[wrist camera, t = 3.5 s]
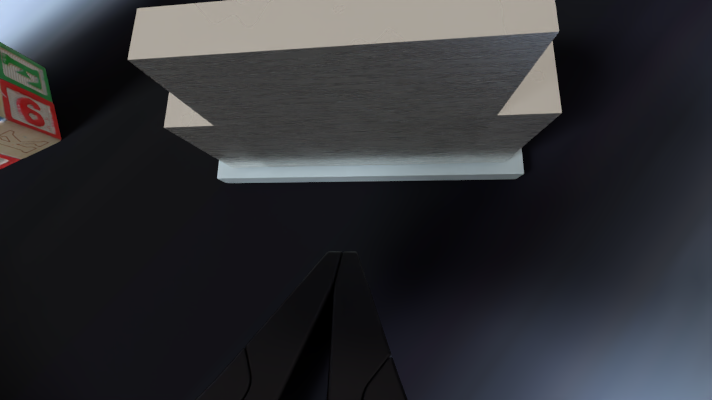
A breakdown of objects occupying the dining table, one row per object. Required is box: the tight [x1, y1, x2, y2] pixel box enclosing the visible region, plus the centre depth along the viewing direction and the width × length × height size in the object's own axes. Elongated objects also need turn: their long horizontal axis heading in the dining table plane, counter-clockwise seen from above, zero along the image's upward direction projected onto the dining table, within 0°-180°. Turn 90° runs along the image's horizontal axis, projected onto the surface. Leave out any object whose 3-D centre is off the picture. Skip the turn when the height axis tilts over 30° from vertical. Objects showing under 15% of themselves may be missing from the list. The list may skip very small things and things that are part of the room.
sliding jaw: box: [128, 0, 562, 168], centre depth 11 cm, size 4×14×9 cm, turn 89°
